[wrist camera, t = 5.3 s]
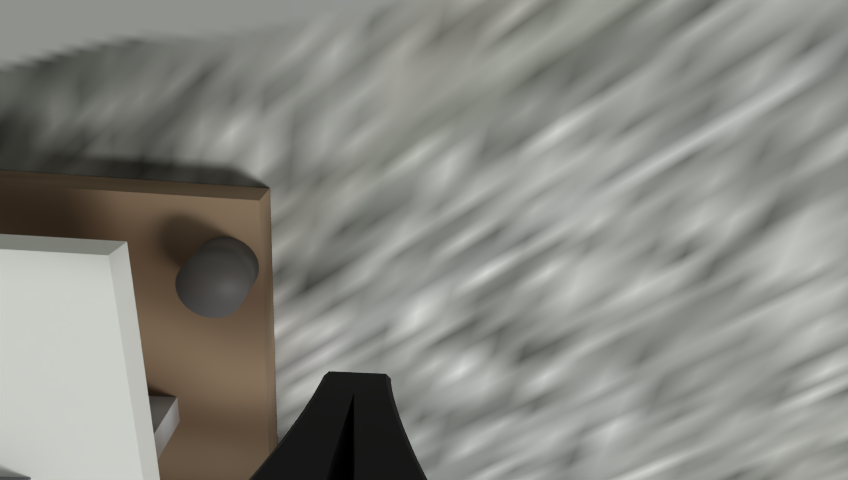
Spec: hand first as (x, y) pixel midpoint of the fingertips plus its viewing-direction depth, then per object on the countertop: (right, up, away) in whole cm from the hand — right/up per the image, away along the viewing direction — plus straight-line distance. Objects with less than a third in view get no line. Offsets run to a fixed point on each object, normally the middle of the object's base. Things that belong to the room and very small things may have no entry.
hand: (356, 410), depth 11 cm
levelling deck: (-13, -4, +6) cm, 15 cm away
